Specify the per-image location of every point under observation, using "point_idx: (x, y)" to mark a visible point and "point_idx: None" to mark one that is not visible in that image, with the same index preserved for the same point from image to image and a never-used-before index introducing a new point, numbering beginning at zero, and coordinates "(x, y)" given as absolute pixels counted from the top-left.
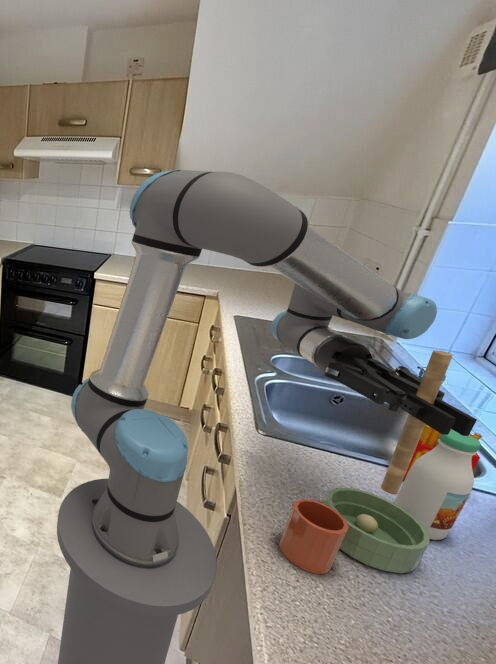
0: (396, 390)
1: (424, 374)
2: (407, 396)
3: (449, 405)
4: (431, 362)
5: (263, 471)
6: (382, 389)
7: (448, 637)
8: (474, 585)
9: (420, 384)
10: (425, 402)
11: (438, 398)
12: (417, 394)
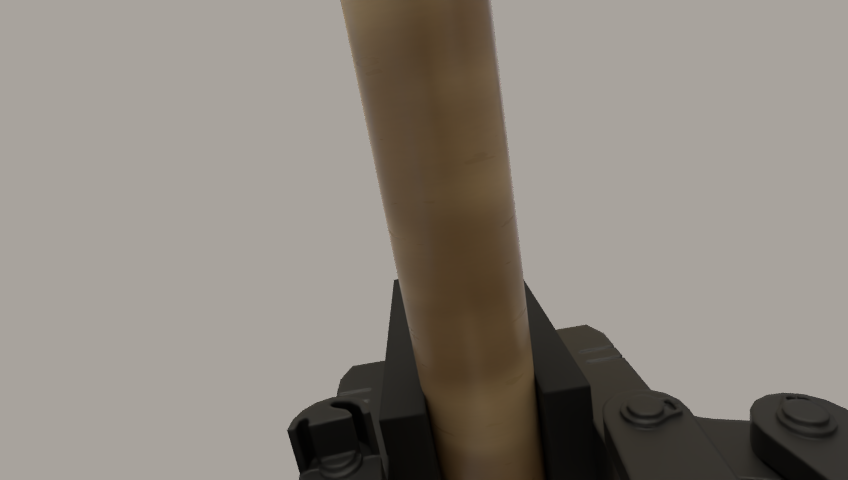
0: (673, 429)
1: (509, 177)
2: (590, 408)
3: (402, 331)
4: (493, 24)
5: None
6: (826, 402)
7: None
8: None
9: (518, 286)
10: (537, 318)
11: (385, 381)
12: (530, 365)
